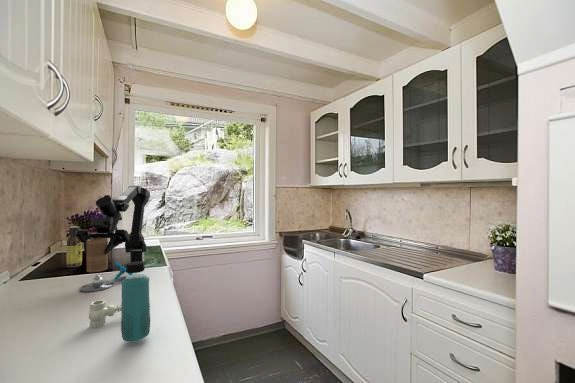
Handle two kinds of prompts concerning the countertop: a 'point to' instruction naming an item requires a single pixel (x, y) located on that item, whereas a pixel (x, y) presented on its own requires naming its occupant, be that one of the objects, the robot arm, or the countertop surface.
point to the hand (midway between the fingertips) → (95, 253)
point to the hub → (96, 285)
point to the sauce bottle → (73, 249)
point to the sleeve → (97, 254)
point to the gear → (122, 271)
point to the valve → (101, 313)
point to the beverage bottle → (135, 304)
